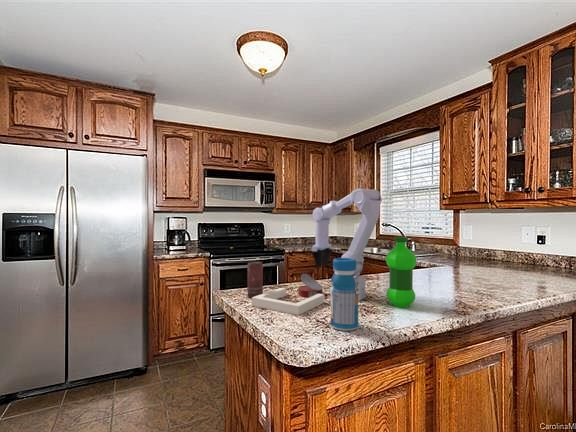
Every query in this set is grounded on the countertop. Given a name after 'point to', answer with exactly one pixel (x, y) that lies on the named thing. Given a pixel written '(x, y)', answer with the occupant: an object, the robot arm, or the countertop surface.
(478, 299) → the countertop surface
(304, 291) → the canned food
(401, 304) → the plastic bottle
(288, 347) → the countertop surface
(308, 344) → the countertop surface
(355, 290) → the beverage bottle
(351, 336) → the countertop surface
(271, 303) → the notched board
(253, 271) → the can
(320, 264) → the robot arm
